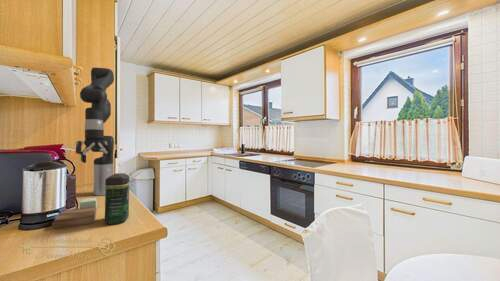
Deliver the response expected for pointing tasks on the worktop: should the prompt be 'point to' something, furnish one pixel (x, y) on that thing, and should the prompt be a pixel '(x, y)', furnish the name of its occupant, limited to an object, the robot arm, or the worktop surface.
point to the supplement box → (71, 191)
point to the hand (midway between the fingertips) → (94, 161)
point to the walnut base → (75, 217)
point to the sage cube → (88, 203)
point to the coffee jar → (116, 198)
